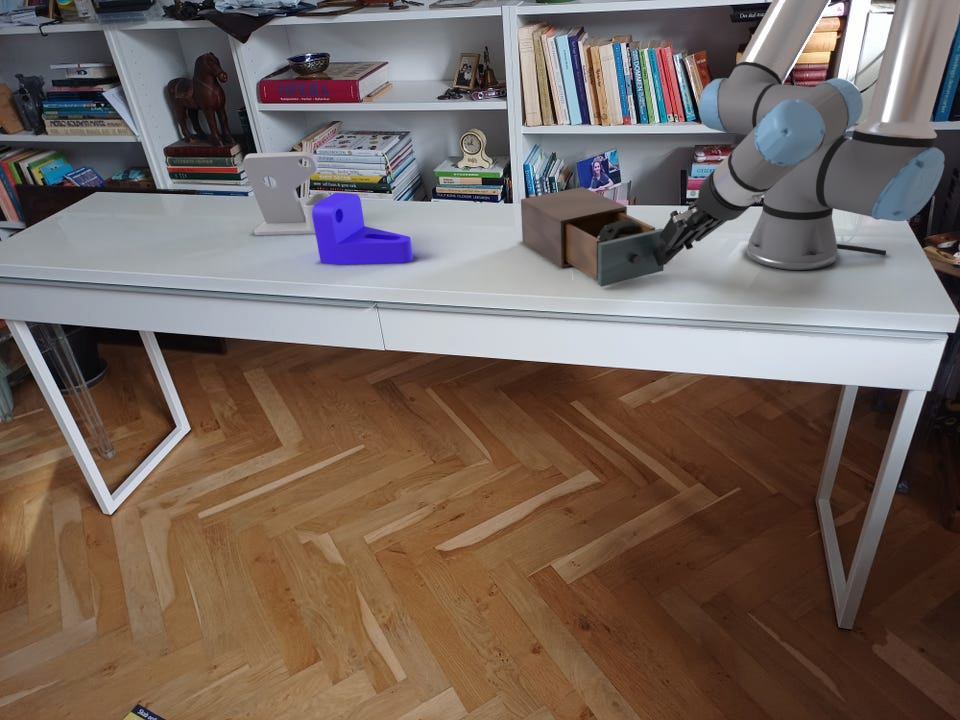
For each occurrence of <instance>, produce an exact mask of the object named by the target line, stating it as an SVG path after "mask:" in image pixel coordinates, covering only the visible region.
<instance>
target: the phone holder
mask: <svg viewBox="0 0 960 720" xmlns="http://www.w3.org/2000/svg"><path fill="white" fill-rule="evenodd" d="M303 159H304V160H307V161H308V162H309V163H310V165H311V166H306V165H305V166H304V165H303V164H302V163H301V162H300V160H303ZM318 167H319V163H318V159H317V157H316V156H315V155H314V154H313V153H312V152H309V151H306V150H305V151H278V152H277V151H276V152H259V153H258V152H257V153H255V152H254V153H248V154H246V155H245V156H244V158H243V161H242V168H243V169H244V172H245V174H246V177H247V180H248V182H249V185H250V188H251V189H252V192H253V195H254V198H255V200H256V202H257V205H258V207H259V209H260V212H261V215H262V217H263V220H264V221H263V222H262V223H261V224H259V226H257V227H256V228H255V229H254V230H253V233H254V235H256V236H275V235H281V236H282V235H310V234H311V235H313V234H314V235H316V234H315V228H314V223H313V218H312V210H313V207H314V205H315V204H316V203H317V202H319V201H321V200H323V199H325V198H326V197H328V196H330V195H331V194H329V193H326V192H322V193H316V194H312V195H311V196H310V197H309V198H308V199H307V200H306V201H305V202H304V203H303V205H302V204H301V201H300V198H299V195H298V192H297V188H299V187H300V186H301V185H302V184H304V183H305V182H306V181H307V180H308V179H310V178H311V177H312V176H313V175H314V174H315V173H316V172H317V170H318ZM266 177H268V178H271V179H273V180H274V181H275V185H273V186H270V185H269V184H267V183H266V182H265V180H264V179H265V178H266Z"/></svg>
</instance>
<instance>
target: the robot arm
mask: <svg viewBox="0 0 960 720" xmlns="http://www.w3.org/2000/svg"><path fill="white" fill-rule="evenodd" d="M831 1H832V0H772V1H771V3H770V5H769V6H768V8H767V10H766V12H765V14H764V15H763V17H762V19H761V21H760V22H759V24H758V26H757V28H756V30H755V31H754V33H753V35H752V37H751V39H750V41H749V42H748V44H747V46H746V47H745V50H744V51H743V53H742V55H741V56H740V58H739V60H738V62H737V64H736V65H735V66H734V68H733V70H732V72H731V74H730V75H729V77H728V78H727V77H722V78H714V79H712V81H711V82H710V83H708V84H707V85H706V86H705V87H704V88H703V90H702V92H701V94H700V98H699V103H698V115H699V118H700V120H701V122H702V124H703V125H704V126H705V127H707V128H708V129H711V130H715V131H718V132H722V133H726V134H737V135H744V136H745V135H746V136H745V137H744V139H742V141H740V143H739V144H738V145H737V146H736V147H735V148H734V149H732V150H731V152H730V153H729V154H728V155H727V156H725V158H723V160H721V162H720V163H719V164H718V165H717V166H716V167H715V168H714V169H713V171H711V172H710V173H709V174H708V176H706V177H705V179H704V180H702V182H701V184H700V186H699V189H698V196H697V198H696V199H695V200H694V201H693V202H692V203H690V204H689V205H688V207H687V210H685V211H683V212H682V211H679V210H677V209H676V210H673V211H672V212H670V214H669V216H670V218H669V220H668V221H667V223H666V224H665V226H664V228H662V229H663V231H662V233H661V234H660V236H659V237H660V239H661V241H662V244H661V245H660V246H659V247H658V248H657V249H656V250H655V251H654V252H653V255H654V257H655V260H656V262H657V264H658V266H662V265H664V266H665V265H667V264H668V263H669V262H670V261H671V260H672V259H673V258H674V257H675V256H677V255H678V254H679V253H680V252H681V251H682V250H683V249H684V248H686V250H688V251H689V250H692V249H694V246H693V244H692V243H694V241H695V242H696V243H697V242H701V241H702V240H703V239H704V238H706V237H707V236H709V235H710V234H712V233H713V232H714V231H716V230H717V229H718V228H719V227H721V226H722V225H724V224H725V223H726V222H729V221H733V220H737V219H738V218H739V217H741V216H742V215H743V214H744V213H745V212H746V211H748V210H749V208H750V207H752V206H753V204H755V203H759V202H761V201H762V196H763V202H762V211H761V214H760V216H759V218H758V220H757V223H756V224H755V227H754V229H753V231H752V233H751V235H750V237H749V240H748V243H747V248H746V254H747V256H748V257H749V259H751V260H752V261H754V262H756V263H758V264H760V265H763V266H765V267H770V268H775V269H781V270H791V271H808V270H816V269H822V268H824V267H827V266H830V265H832V264H833V263H835V261H836V259H837V254H838V250H845V251H852V252H860V253H866V254H873V255H880V256H887V250H885V249H880V248H879V249H878V248H873V247H872V248H871V247H865V246H859V245H851V244H842V243H838V242H837V237H836V232H835V231H836V230H835V226H834V220H833V211H834V210H837V211H843V212H847V213H853V214H857V215H861V216H865V217H870V218H872V219H874V220H885V221H890V222H891V221H892V222H904V221H908V220H909V219H911V218H913V217H914V216H916V215H917V214H918V213H919V212H920V211H921V210H923V208H924V207H925V206H926V205H927V203H928V202H929V201H930V200H931V198H932V196H933V195H934V193H935V192H936V190H937V188H938V185H939V184H940V181H941V179H942V176H943V172H944V169H945V163H944V162H945V160H946V159H945V154H944V152H943V151H942V150H941V149H939V148H938V147H935V144H936V141H937V136H938V134H937V133H936V131H935V129H934V128H933V127H932V126H931V123H930V121H931V117H932V114H933V111H934V106H935V103H936V100H937V96H938V92H939V89H940V85H941V82H942V78H943V74H944V71H945V69H946V64H947V61H948V57H949V54H950V49H951V47H952V44H953V39H954V36H955V32H956V30H957V29H956V28H957V25H958V21H959V18H960V0H896V2H895V6H894V9H893V13H892V18H891V22H890V26H889V30H888V34H887V37H886V42H885V46H884V50H883V54H882V57H881V61H880V66H879V70H878V74H877V78H876V82H875V85H874V90H873V94H872V98H871V102H870V107H869V109H868V110H869V111H868V114H867V117H866V118H865V119H864V120H862V121H861V122H860V123H859V124H857V125H856V126H855V127H853V126H854V125H855V124H856V123H857V122H859V119H860V118H861V115H862V114H863V109H864V101H863V96H862V94H861V91H860V90H859V88H858V87H857V86H856V85H855V84H854V83H853V82H851V80H847V79H846V78H841V77H833V78H830V79H827V80H825V81H821V82H820V83H819V84H817V85H815V86H811V87H810V86H803V85H790V84H784V83H785V82H786V80H787V78H788V76H789V75H790V73H791V71H792V69H793V68H794V66H795V64H796V62H797V60H798V58H799V57H800V55H801V53H802V52H803V50H804V48H805V46H806V44H807V43H808V41H809V40H810V37H812V34H813V32H814V31H815V29H816V27H817V26H818V24H819V22H820V20H821V18H822V17H823V15H824V13H825V11H826V10H827V8H828V6H829V4H830V3H831ZM852 127H853V132H852V136H851V137H850V136H847V135H848V130H849V129H851V128H852Z"/></svg>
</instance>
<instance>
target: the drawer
mask: <svg viewBox="0 0 960 720" xmlns="http://www.w3.org/2000/svg"><path fill="white" fill-rule="evenodd" d="M619 221H633V222H635V223H636V224H637V225H638V231H637V232H635V233H632V234H621V235H619V236H618V238H617V239H614V240H610V241H605V242H601V240H599V239H597V236H598V235H599V233H600V231H601V230H602V228H603V227H604V226H606V225H608V224H611V223H615V222H619ZM563 224H564V260H565V261H566V262H568V263H569V264H571V265H572V267H574V268H576V269H578V270H579V271H581V272H582V273H583V274H585V275H587V276H589V277H590V278H592V279H593V280H595V281H597V285H598V286H599V287H601V288H602V287H605V286H609V285H614V284H617V283H621V282H625V281H629V280H633V279H637V278H641V277H644V276H649V275H653V274H656V273H661V272H664V268H665V265H662V266H658V264H657V262H656V260H655V257H654V255H653V252H654V251H655V250H656V249H657V248H658V247H659V246H660V245H661V244H662V241H661V239H660V237H659V236H660V234H661V233H662V231H663V229H664V228H662V227H661V228H658V229H656V227H654V226H653V225H650V224H648V223H647V222H644V221H642V220H640V219H637V218H635V217H633V216H631V215H628V214H627V215H626V214H624V213H622V212H620V211H618V212H613V213H609V214H604V215H600V216H595V217H590V218H586V219H581V220H577V221H572V222H568V223H563Z"/></svg>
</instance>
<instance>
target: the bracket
mask: <svg viewBox="0 0 960 720" xmlns="http://www.w3.org/2000/svg"><path fill="white" fill-rule="evenodd" d="M329 195H330V196H328V197H326V198H325V199H323V200H321V201H319V202H317V203H316V204H315V205H314V207H313V210H312V218H313V223H314V228H315V234H314V235H315V238H316V239H315V240H316V244H317V250H318V255H319V260H320V264H330V265H338V266H340V265H341V266H342V265H343V266H345V265H346V266H347V265H379V264H384V265H385V264H386V265H387V264H406V263H409V262H412V261H413V260H414V257H413V256H414V255H413V247H412V239H411V237H410V236H409V235H404V234H401V233H395V232H392V231H388V230H383V229H380V228H379V229H378V228H374V227H369V226H366V225H365V220H364V213H363V206H362V200H361V197H360V195H359V194H357V193H348V192H346V193H345V192H334V193H332V194H329Z"/></svg>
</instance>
